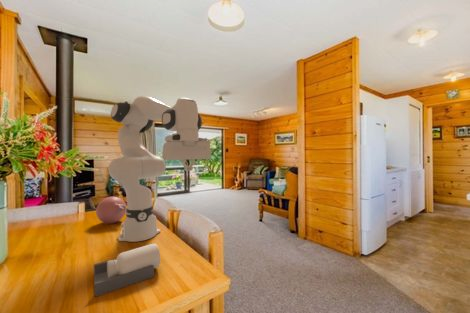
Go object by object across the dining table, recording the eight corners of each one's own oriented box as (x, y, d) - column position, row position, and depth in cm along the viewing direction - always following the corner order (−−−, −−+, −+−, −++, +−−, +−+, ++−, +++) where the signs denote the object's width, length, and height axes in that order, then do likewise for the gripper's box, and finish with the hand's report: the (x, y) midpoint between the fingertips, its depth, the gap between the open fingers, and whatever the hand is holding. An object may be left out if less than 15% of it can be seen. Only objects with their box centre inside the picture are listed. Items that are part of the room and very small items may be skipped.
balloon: (108, 230, 109) (107, 201, 109) (91, 224, 121) (91, 197, 121) (136, 222, 122) (135, 196, 122) (118, 217, 133) (118, 193, 133)
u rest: (94, 275, 69) (94, 264, 69) (145, 260, 78) (145, 251, 78) (94, 296, 59) (94, 284, 59) (153, 277, 68) (153, 266, 68)
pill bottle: (153, 238, 76) (105, 252, 66) (161, 250, 70) (110, 267, 60) (153, 258, 77) (106, 273, 68) (160, 271, 71) (110, 290, 62)
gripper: (206, 138, 95) (207, 168, 95) (160, 137, 83) (161, 171, 83) (213, 137, 89) (213, 169, 90) (165, 135, 78) (166, 172, 78)
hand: (188, 170), depth 86 cm, fingers closed
